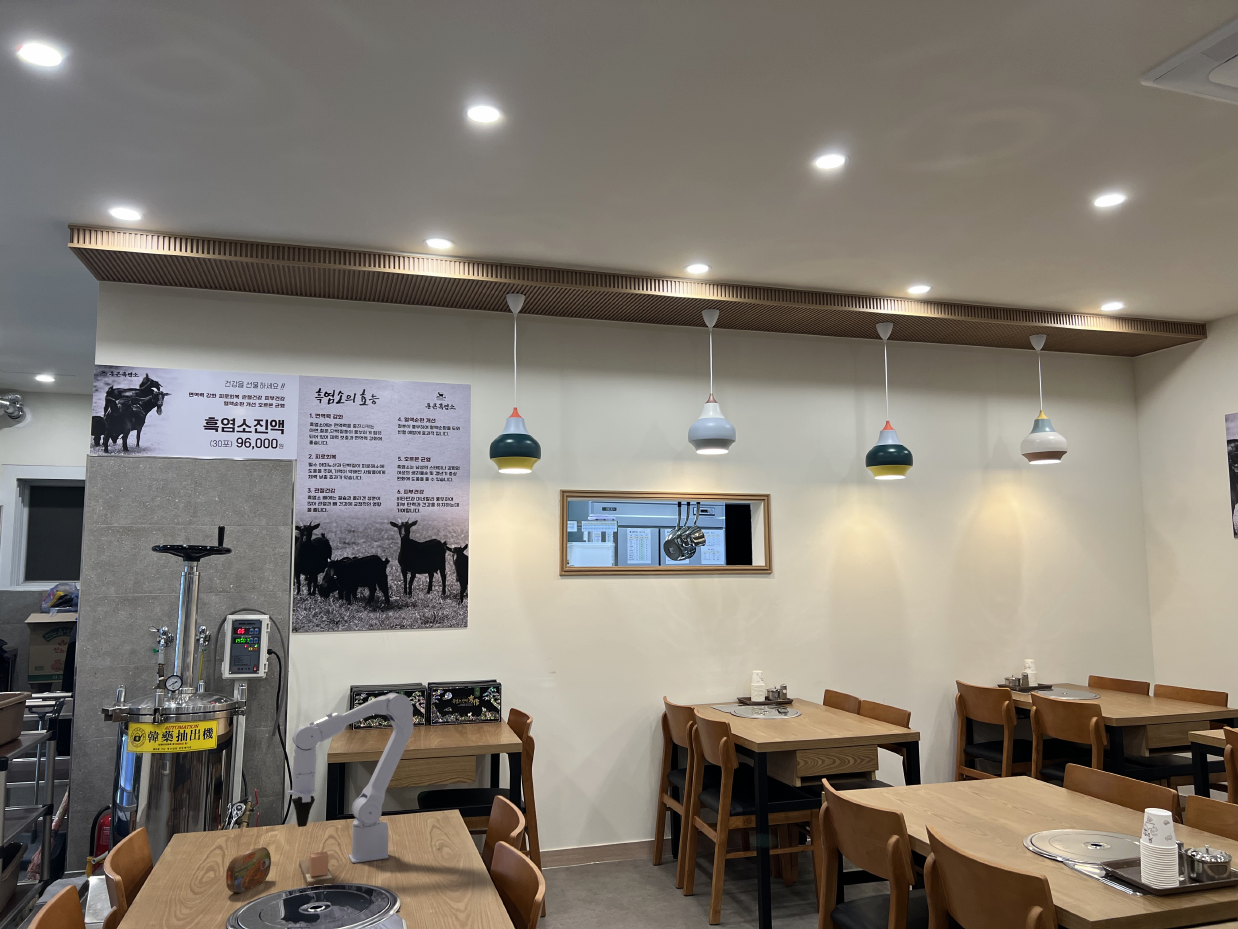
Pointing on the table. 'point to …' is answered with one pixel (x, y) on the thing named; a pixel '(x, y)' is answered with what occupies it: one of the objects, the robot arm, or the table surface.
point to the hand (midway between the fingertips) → (302, 826)
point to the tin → (248, 870)
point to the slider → (318, 864)
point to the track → (314, 879)
